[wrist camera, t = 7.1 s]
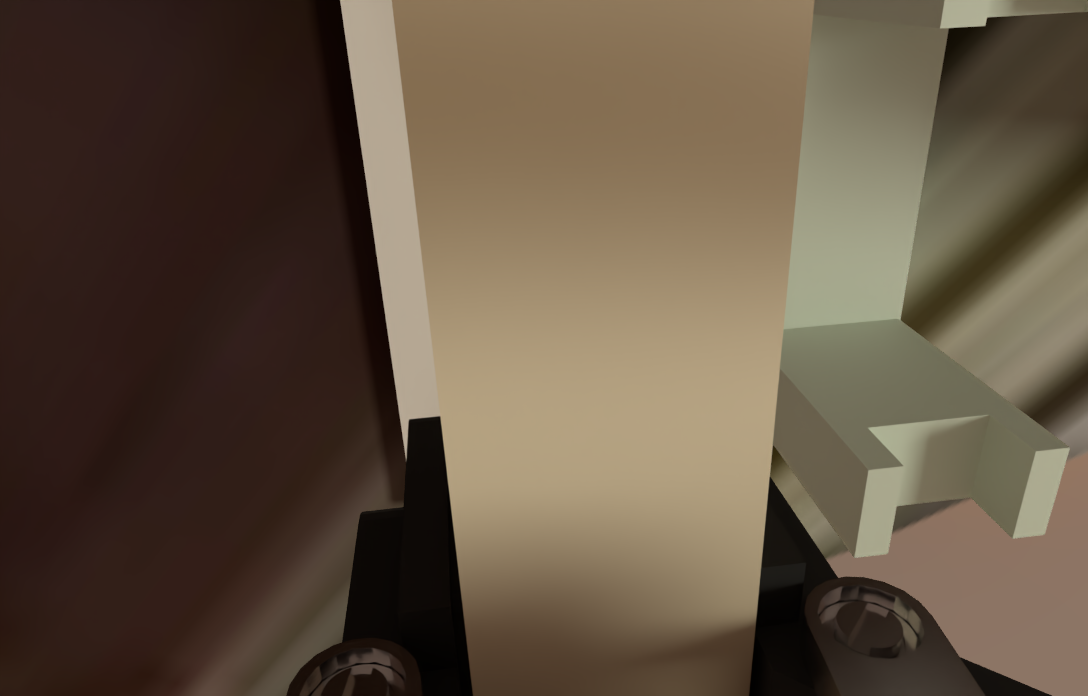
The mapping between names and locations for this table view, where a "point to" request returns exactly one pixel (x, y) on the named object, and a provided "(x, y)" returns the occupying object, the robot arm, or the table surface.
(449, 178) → the rail
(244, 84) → the table surface
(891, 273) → the cradle stand
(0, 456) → the table surface
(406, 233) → the felt mat
